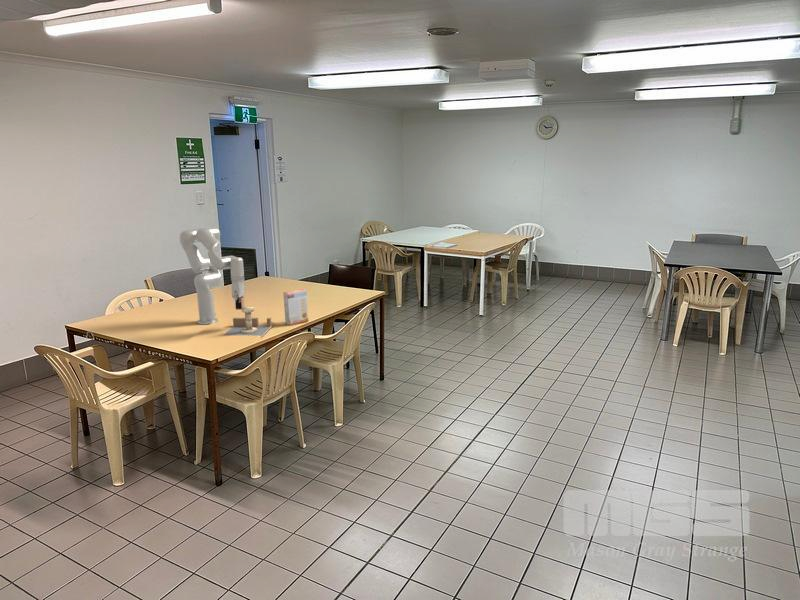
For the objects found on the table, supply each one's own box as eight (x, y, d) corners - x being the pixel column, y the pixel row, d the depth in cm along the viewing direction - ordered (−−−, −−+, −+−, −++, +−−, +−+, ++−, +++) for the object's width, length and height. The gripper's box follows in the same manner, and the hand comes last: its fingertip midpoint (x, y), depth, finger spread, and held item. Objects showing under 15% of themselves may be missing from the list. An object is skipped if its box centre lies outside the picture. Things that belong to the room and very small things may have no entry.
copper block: (238, 307, 329) (237, 296, 327) (244, 308, 328) (243, 296, 327) (235, 309, 325) (234, 298, 323) (242, 309, 325) (241, 298, 323)
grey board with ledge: (234, 327, 335) (234, 317, 333) (271, 328, 334) (270, 317, 332) (223, 337, 316) (222, 326, 314) (262, 337, 314) (261, 327, 313)
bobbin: (244, 329, 327) (242, 306, 324) (259, 329, 326) (257, 306, 323) (239, 333, 318) (237, 310, 315) (254, 333, 318) (252, 310, 314)
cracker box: (303, 319, 352) (302, 288, 347) (308, 321, 347) (307, 290, 342) (284, 323, 343) (282, 291, 338) (289, 325, 338) (287, 293, 333)
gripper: (236, 275, 330) (238, 304, 335) (226, 281, 314) (228, 311, 319) (248, 275, 330) (250, 304, 334) (239, 281, 314) (241, 311, 318)
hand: (239, 307), depth 326 cm, fingers closed on copper block, 4 cm apart
